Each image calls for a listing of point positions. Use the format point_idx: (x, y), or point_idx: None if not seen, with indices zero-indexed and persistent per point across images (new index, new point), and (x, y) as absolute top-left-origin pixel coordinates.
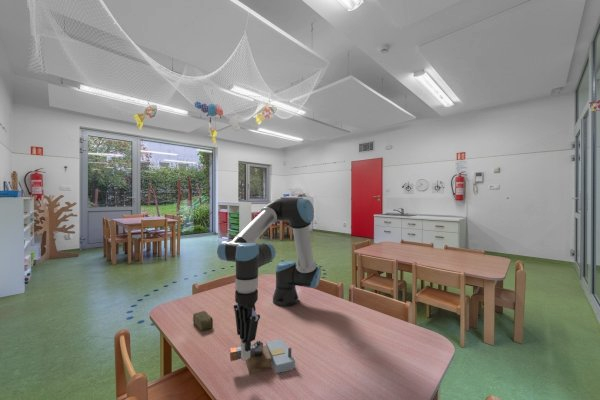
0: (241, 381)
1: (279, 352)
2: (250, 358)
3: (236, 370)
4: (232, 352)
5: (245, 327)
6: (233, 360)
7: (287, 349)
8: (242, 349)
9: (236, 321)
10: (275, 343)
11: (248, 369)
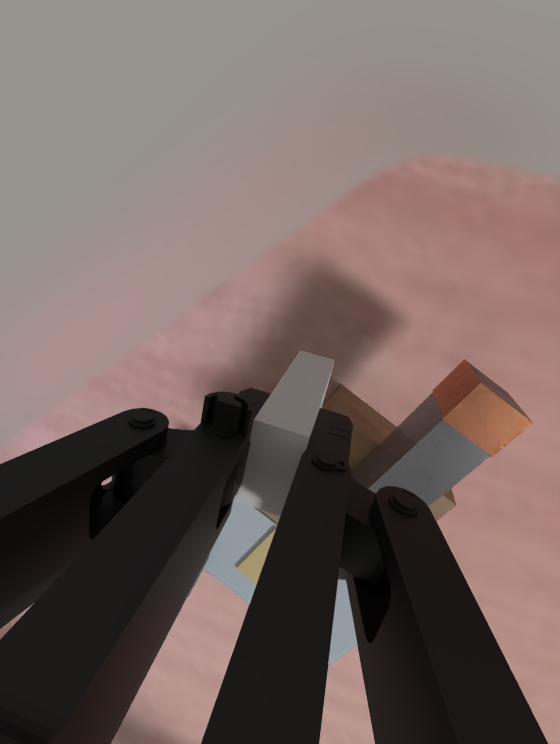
0: (339, 320)
1: (261, 561)
2: (358, 448)
3: (432, 372)
4: (469, 392)
5: (94, 570)
6: (449, 374)
7: (245, 595)
8: (297, 386)
9: (513, 727)
10: (336, 619)
11: (359, 403)
